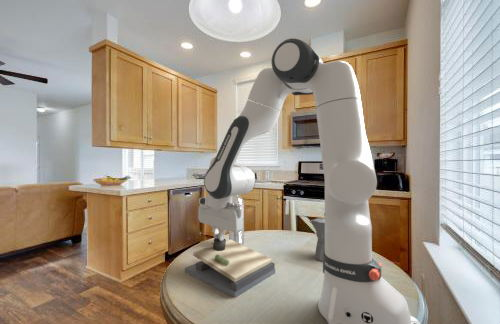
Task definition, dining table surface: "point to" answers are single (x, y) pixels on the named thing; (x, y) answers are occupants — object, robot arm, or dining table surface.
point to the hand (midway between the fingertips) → (218, 239)
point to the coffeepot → (319, 237)
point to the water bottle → (239, 236)
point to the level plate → (232, 259)
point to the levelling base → (226, 284)
